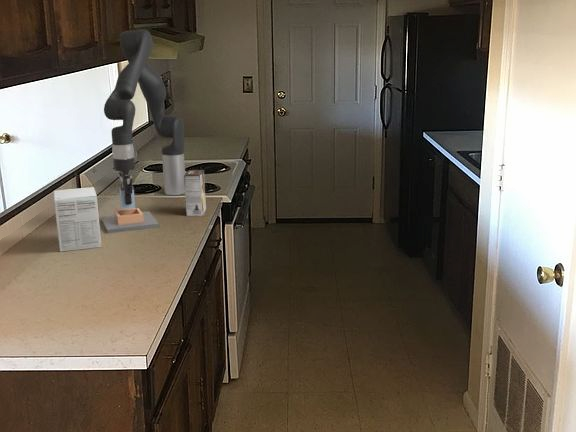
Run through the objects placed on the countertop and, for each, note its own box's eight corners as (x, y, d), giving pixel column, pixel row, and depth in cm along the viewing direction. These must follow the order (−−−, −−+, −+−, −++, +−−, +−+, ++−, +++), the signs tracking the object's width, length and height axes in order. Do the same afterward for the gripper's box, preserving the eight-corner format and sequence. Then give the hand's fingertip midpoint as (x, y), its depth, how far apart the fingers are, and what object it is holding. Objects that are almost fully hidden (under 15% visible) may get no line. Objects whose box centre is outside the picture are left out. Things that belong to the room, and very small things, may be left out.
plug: (120, 206, 237) (118, 185, 234) (133, 205, 238) (131, 184, 236) (122, 209, 233) (120, 187, 230) (135, 208, 234) (133, 186, 232)
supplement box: (102, 247, 211) (97, 195, 206) (59, 252, 207) (53, 199, 202) (99, 235, 223) (94, 186, 218) (58, 240, 219) (52, 190, 214)
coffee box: (190, 209, 254) (187, 169, 250) (206, 209, 254) (204, 169, 250) (186, 216, 245) (183, 174, 241) (203, 216, 245) (200, 174, 241)
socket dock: (100, 219, 242) (99, 209, 241) (149, 214, 248) (148, 203, 247) (107, 233, 226) (106, 221, 225) (158, 226, 233) (158, 215, 231)
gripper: (110, 153, 235) (114, 199, 240) (115, 160, 223) (120, 208, 227) (130, 152, 238) (134, 197, 243) (137, 158, 225) (141, 206, 230)
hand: (127, 202), depth 235 cm, fingers closed on plug, 4 cm apart
